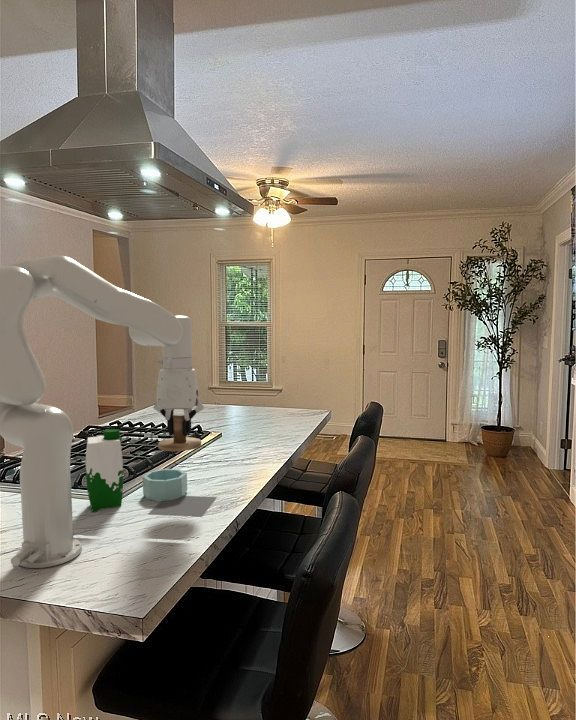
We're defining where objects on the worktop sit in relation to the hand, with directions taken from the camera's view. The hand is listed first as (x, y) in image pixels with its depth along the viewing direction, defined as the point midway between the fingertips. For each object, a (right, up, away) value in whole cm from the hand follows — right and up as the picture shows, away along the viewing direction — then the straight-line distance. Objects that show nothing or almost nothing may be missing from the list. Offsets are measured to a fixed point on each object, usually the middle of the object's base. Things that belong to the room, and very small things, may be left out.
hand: (179, 434), depth 139 cm
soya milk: (-20, -19, +2) cm, 28 cm away
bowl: (-6, -19, +9) cm, 22 cm away
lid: (0, -3, 0) cm, 3 cm away
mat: (+1, -19, +1) cm, 19 cm away
